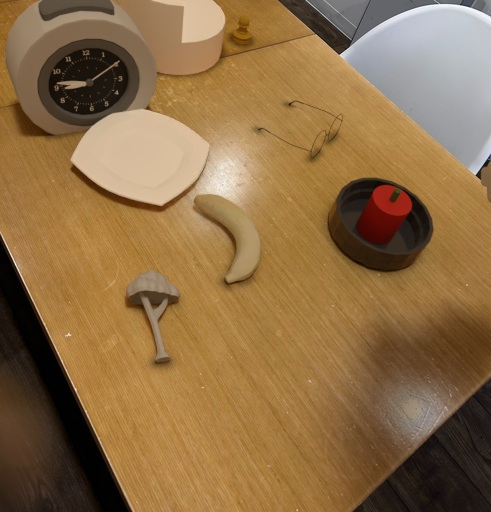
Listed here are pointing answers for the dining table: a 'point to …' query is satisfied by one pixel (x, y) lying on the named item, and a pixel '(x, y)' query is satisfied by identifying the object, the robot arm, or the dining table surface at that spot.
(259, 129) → the eyeglasses
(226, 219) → the fruit
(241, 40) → the chess piece
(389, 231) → the pepper
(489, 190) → the robot arm
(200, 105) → the dining table surface
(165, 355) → the mushroom
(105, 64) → the alarm clock
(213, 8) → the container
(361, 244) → the pan
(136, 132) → the plate
